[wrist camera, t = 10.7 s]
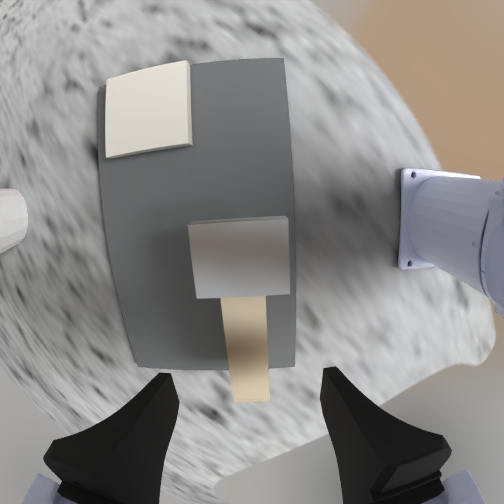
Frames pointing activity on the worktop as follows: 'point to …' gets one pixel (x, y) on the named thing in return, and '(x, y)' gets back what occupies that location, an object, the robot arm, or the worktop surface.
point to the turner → (242, 289)
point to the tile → (148, 110)
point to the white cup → (12, 218)
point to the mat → (200, 213)
